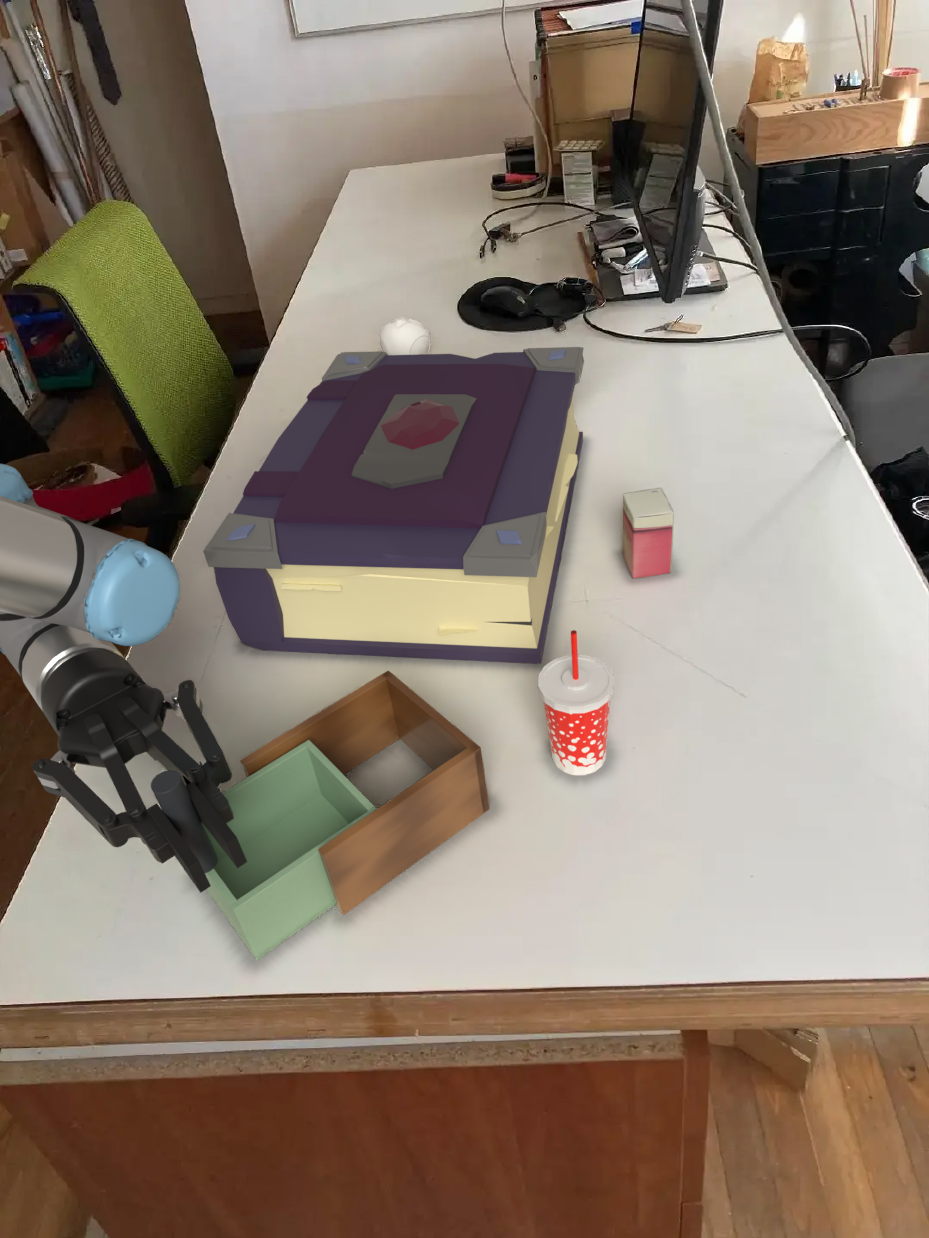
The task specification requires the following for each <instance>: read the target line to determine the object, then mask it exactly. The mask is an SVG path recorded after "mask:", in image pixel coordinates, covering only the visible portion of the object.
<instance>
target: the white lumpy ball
mask: <svg viewBox="0 0 929 1238" xmlns="http://www.w3.org/2000/svg"><path fill="white" fill-rule="evenodd" d="M378 335H379V343H380V348H381V350H382V352H386V353H387V354H388V355H419V354H429V352H430V348H431V341H432V340H431V331H430V330H428V329H427V328H426V326H425V325H424V324H423V323H422V322H420V321H418V320H416V319H412V318H411V317H410V316H408V315H401V316H398V317H396V318H394V319H392V320H391V321H389V323H386V324H384V325H383V326H382V328H380V331H379V334H378Z"/></svg>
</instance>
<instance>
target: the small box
mask: <svg viewBox="0 0 929 1238" xmlns="http://www.w3.org/2000/svg"><path fill="white" fill-rule="evenodd" d="M674 519H675V511H674V509H673V507H672V504H671V502H670V500H669V498H668V497H667V495H666V493H665V491H664V490H663V488H662V487H656V488H649V489H643V490H635V491H630V492H629V491H628V492H623V493H622V531H621V532H622V533H621V534H622V535H621V536H622V537H621V539H622V541H621V542H622V543H621V553H622V556H623V558H624V562H625V564H626V567H627V569H628V572H629V573H630V576H631V578H632V579H639V578H640V579H641V578H647V577H655V576H661V575H667V574H671V573H672V561H673V541H674V540H673V538H674V524H675V523H674V522H675V521H674Z"/></svg>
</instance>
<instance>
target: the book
mask: <svg viewBox="0 0 929 1238" xmlns="http://www.w3.org/2000/svg"><path fill="white" fill-rule="evenodd" d="M584 349H585V347H582V346H561V347H559V346H558V347H527V348H523V349H522V351H511V352H510V351H507V352H503V351H502V352H492V353H488V354H485V355H482V356H479V357H476V358H474V357H468V356H463V355H459V354H454V353H431V354H430V353H428V354H419V355H388V354H387V353H386V352H383V351H381V350H380V351H343V352H342V351H341V352H340V353H338V354H336V355H335V358H334V359H333V360H332V362H331V364H329V366H328V368H327V369H326V371H325V372H324V374H323V376H322V377H321V382H320V383H319V384H317V385H316V386H315V387H313V388H312V389H311V390H310V391H309V393H308V394H307V396H306V399H307V400H306V402H304V404H303V405H302V406H301V408H300V409H299V410H298V412H297V414H295V416H294V417H293V418H292V420H291V421H290V423H288V425H287V426H286V427H285V429H284V430H283V431H282V433H281V434H280V436H278V438H277V440H276V441H275V443H274V445H273V447H272V448H271V449H270V451H269V453H268V455H267V456H266V458H265V459H264V460H263V462H262V464H261V465H260V468H259V469H258V470H257V471H256V470H255V471H254V472H253V473H252V476H251V477H250V478H249V480H248V481H247V484H246V485H245V487H244V488H243V491H242V497H241V499H240V500H239V503H238V504H237V506H236V507H235V508H234V511H233V512H228V513H227V514H226V516H225V517H224V519H223V521H222V522H221V524H220V525H219V526H218V528H217V529H216V531H215V532H214V534H213V535H212V537H211V538H210V540H209V541H208V543H207V544H206V545H205V547H204V548H203V550H202V552H203V555H204V558H205V561H206V565H207V566H208V568H213V571H214V577H215V578H214V579H215V584H216V587H217V590H218V593H219V595H220V598H221V601H222V604H223V607H224V609H225V612H226V616H227V618H228V620H229V623H230V624H231V626H232V628H233V630H234V632H235V634H236V635H237V637H238V639H239V641H240V643H241V644H243V645H245V646H247V647H251V648H254V649H256V650H259V651H267V652H285V653H286V652H287V653H306V654H307V653H308V654H310V653H311V654H326V655H327V654H330V655H351V656H368V657H372V656H373V657H388V658H390V657H392V658H410V659H411V658H413V659H434V660H435V659H436V660H449V661H450V660H453V661H454V660H455V661H472V662H473V661H475V662H495V663H515V664H516V663H518V664H534V665H535V664H536V665H541V664H542V661H543V656H544V649H545V646H546V645H545V644H546V639H547V635H548V634H547V633H548V629H549V625H550V618H551V612H552V607H553V602H554V597H555V592H556V587H557V586H556V585H557V580H558V575H559V570H560V564H561V559H562V553H563V549H564V544H565V539H566V533H567V527H568V523H569V518H570V512H571V506H572V501H573V497H574V496H573V495H574V490H575V484H576V479H577V476H578V475H577V474H578V469H579V464H580V459H581V453H582V449H583V444H584V443H583V442H584V432H583V431H579V429H578V428H579V427H578V426H577V425H578V424H577V423H576V420H575V419H576V418H575V408H574V406H575V404H574V403H575V402H574V392H575V386H576V385H578V384H579V383H581V378H582V373H583V370H584V365H585V358H584V355H583V354H584Z"/></svg>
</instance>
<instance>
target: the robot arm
mask: <svg viewBox="0 0 929 1238" xmlns="http://www.w3.org/2000/svg"><path fill="white" fill-rule="evenodd" d="M33 495H34V492H33V489H31V488H29V486H28V485H27V483H26V481H25V480H24V478H23V476H22V475H21V473H20V471H18V470H17V468H15V467H13V466H11V465H8V464H4V463H0V652H1V653H2V654H3V655H5V657H6V659H7V660H8V661H9V663H10V664H11V665H12V667H13V668H14V669H15V671H16V672H17V674H18V675H19V676H20V679H21V680H22V682H23V684H24V686H25V688H26V689H27V690H28V692H29V693H30V695H31V696H32V699H34V701H35V703H36V705H38V707H39V708H40V710H41V711H42V713H43V715H44V716H45V718H46V719H47V721H48V723H49V724H50V725H51V727H52V729H53V730H54V732H55V733H56V735H57V736H58V739H57V748H58V751H57V752H56V753H55V754H54V755H53V756H52V757H51V758H50V759H49V758H40V759H38V760H36V761H34V763H33V764H32V766H31V768H32V771H33V772H34V774H35V775H36V777H37V779H38V780H39V782H40V783H41V786H42V787H43V789H44V790H45V792H46V793H49V794H52V795H55V796H58V797H61V798H65V800H66V801H68V803H69V804H70V805H71V806H72V807H73V808H74V809H75V810H76V811H77V812H78V813H79V814H80V815H81V816H82V817H83V818H84V819H85V820H86V821H87V823H89V824H90V825H91V826H92V827H93V828H94V829H95V830H96V831H97V832H98V833H99V834H100V835H101V836H102V837H103V838H104V840H106V841H107V842H108V844H109V845H111V847H113V848H121V847H123V846H124V845H126V844H127V842H128V841H129V840H130V839H132V838H139V839H140V840H141V842H142V843H143V845H145V846H146V847H147V849H148V851H149V852H150V854H151V855H152V856H153V858H154V859H155V861H156V862H158V863H159V864H164V863H166V862H167V861H169V860H170V859H172V858H173V857H175V859H176V860H177V862H178V863H179V864H180V866H181V867H182V869H183V870H184V872H185V873H186V874H187V876H188V877H189V879H190V880H191V881H192V883H193V884H194V886H195V888H196V889H197V890H198V891H199V893H200V894H201V893H203V892H205V890H206V889H207V888H209V887H210V886H211V885H210V883H209V881H208V879H207V877H206V875H205V873H204V871H203V869H202V867H201V865H200V862H199V861H198V859H197V858H196V857H195V855H194V854H193V852H192V851H191V850H190V848H189V847H188V845H187V844H186V843H185V841H184V840H183V839H182V837H181V836H180V834H179V833H178V832H177V830H176V829H175V828H174V826H173V825H172V823H171V822H170V821H169V819H168V818H167V816H166V815H165V814H164V812H163V811H162V809H161V807H160V805H159V803H158V802H156V803H155V804H153V805H151V806H149V807H148V808H147V806H146V804H145V802H144V801H143V799H142V796H141V794H140V793H139V790H138V788H137V786H136V784H135V782H134V780H133V778H132V777H131V773H130V772H129V770H128V768H127V766H126V764H127V763H128V762H130V761H131V760H132V759H134V758H135V757H136V756H139V755H142V754H145V753H147V755H148V756H150V758H151V759H153V761H154V762H156V761H158V763H159V764H160V765H161V766H162V767H163V768H165V770H166V771H167V770H174V771H177V772H178V773H179V774H180V775H181V778H182V780H183V782H184V784H185V786H186V789H187V791H188V793H189V795H190V797H191V800H192V802H193V804H194V806H195V808H196V811H197V813H198V815H199V817H200V819H201V821H202V823H203V824H204V825H205V827H206V828H207V829H208V830H209V832H210V833H211V834H212V836H213V837H214V838H215V840H216V841H217V842H218V844H219V845H220V846H221V848H222V849H223V850H224V851H225V853H226V854H227V855H228V857H229V858H230V859H231V861H232V862H233V863H234V865H235V866H236V867H237V868H239V867H240V866H242V865H243V864H245V863H247V860H246V858H245V855H244V853H243V851H242V848H241V846H240V844H239V841H238V839H237V837H236V835H235V834H234V833H233V832H232V830H231V829H230V828H229V827H228V825H227V824H226V823H228V822H229V821H231V820H233V819H234V816H233V812H232V809H231V807H230V804H229V802H228V800H227V799H226V797H225V796H224V795H223V794H222V793H223V792H222V791H221V790H220V788H219V786H220V785H221V784H226V783H228V782H230V781H231V779H232V778H233V773H232V771H231V768H230V765H229V763H228V760H227V758H226V755H225V754H224V751H223V749H222V747H221V745H220V744H219V742H218V740H217V738H216V736H215V735H214V733H213V731H212V729H211V728H210V726H209V724H208V722H207V720H206V718H205V716H204V715H203V710H204V709H203V701H202V699H201V696H200V694H199V692H198V689H197V687H196V684H195V682H194V680H192V679H186V680H182V681H181V682H180V683H179V684H178V688H177V690H173V691H169V692H165V693H163V691H162V690H160V689H159V688H158V687H153V686H150V685H148V684H147V682H145V680H144V679H143V678H142V677H141V675H140V674H139V673H138V672H137V671H136V669H134V667H133V666H132V665H131V664H130V662H129V661H128V660H127V659H126V657H124V655H123V654H122V653H121V651H119V649H118V648H117V647H116V645H119V646H123V647H136V646H141V645H144V644H146V643H149V642H150V641H152V640H154V639H156V638H157V637H158V636H160V634H161V633H162V632H163V631H164V630H165V629H166V628H167V627H168V626H169V625H170V623H171V622H172V620H173V618H174V616H175V611H176V609H177V608H178V603H179V602H180V599H181V581H180V580H181V579H180V576H179V572H178V571H177V568H176V566H175V564H174V563H173V561H172V560H171V559H170V558H169V557H168V556H167V555H166V554H164V552H162V551H159V550H157V549H156V548H153V547H151V546H148V545H147V544H146V543H145V542H144V541H143V542H142V541H141V540H137V539H134V538H128V537H125V536H123V535H119V534H116V533H115V532H112V531H109V530H105V529H102V528H99V527H96V526H93V525H91V524H87V523H84V522H82V521H79V520H78V519H74V518H73V517H70V516H68V515H64V514H62V513H59V512H56V511H53V510H50V509H47V508H44V507H42V506H39V505H38V504H37V503H36V501H35V499H34V496H33ZM114 644H116V645H114ZM168 711H172V712H173V714H174V715H175V716H176V717H179V718H180V720H182V721H185V723H186V726H187V728H188V730H189V732H190V734H191V735H192V738H193V739H194V741H195V743H196V745H197V747H198V749H199V751H200V752H201V755H202V756H203V758H204V760H205V762H204V763H203V762H202V761H197V760H195V759H194V758H193V757H192V756H191V755H190V754H189V753H187V751H186V750H184V748H182V747H181V746H180V745H179V744H178V743H177V742H176V741H174V740H173V739H172V738H171V737H170V736H169V735H168V734H167V733H166V732H165V731H163V727H164V724H165V721H166V716H167V712H168ZM72 764H75V765H82V766H90V767H97V768H104V769H106V771H107V773H108V775H109V777H110V780H111V782H112V784H113V787H114V788H115V790H116V792H117V795H118V796H119V799H120V801H121V803H122V806H123V807H124V809H125V811H122V812H120V813H116V812H115V811H114V809H112V808H111V806H109V805H108V804H107V803H106V802H105V801H104V800H103V799H102V798H101V797H100V796H99V795H98V794H97V793H96V792H94V790H92V788H90V786H89V785H88V784H87V783H85V781H83V780H82V779H81V778H80V776H78V775H77V774H76V770H75V768H74V766H73V765H72ZM206 891H207V890H206Z"/></svg>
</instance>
